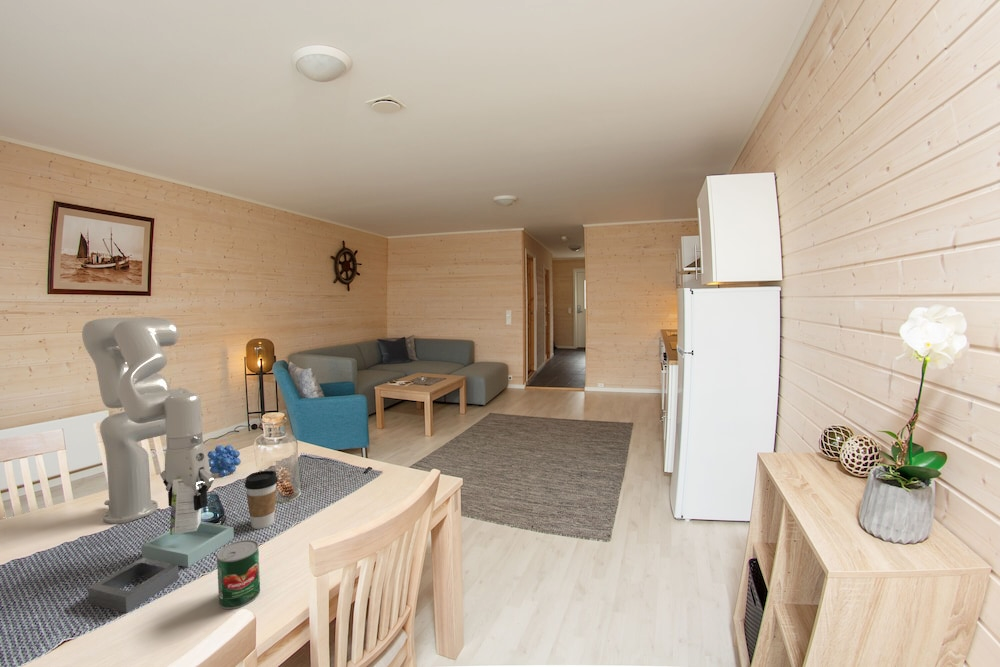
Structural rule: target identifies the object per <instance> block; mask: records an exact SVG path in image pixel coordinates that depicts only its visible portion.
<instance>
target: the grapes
mask: <svg viewBox="0 0 1000 667" xmlns="http://www.w3.org/2000/svg"><path fill="white" fill-rule="evenodd" d="M207 455H208V460H209V468H210V474H212V475H216V474H217V475H219V476H220V477H225V476H227V475H228V473H230V474H231V473H232V474H233V473H235V472H236V471H237V466H240V465H241V462H242V461H241V458H239V457H240V452H239V450H238V449H236V450H234V447H233V445H232V444H231V445H230V444H229V445H225V446H223V445H217V446H216V447H215V448H214V450H211V451H209V452H207Z"/></svg>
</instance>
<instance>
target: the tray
mask: <svg viewBox="0 0 1000 667" xmlns="http://www.w3.org/2000/svg"><path fill="white" fill-rule="evenodd" d="M234 529H235V528H234V526H230V525H223V524H220V523H214V522H208V521H207V522H206V521H202V520H201V523H200V525H199V527H198V529H197V531H194V532H188V533H181V534H174V535H170V529H169V530H167V531H166V532H164V533H162V534H160V535H158V536H157V537H155V538H153V539H151V540H149V541H147V542H145V543H143V544H141V556H142V557H141V558H147V559H151V560H156V561H160V562H165V563H170V564H174V565H178V567H179V566H180V567H185V568H190V567H192V566H193V565H195V564H196V563H198V562H199V561H201V560H202V559H204V558H206V557H207V556H209V555H211V553H214V552H215V551H217V550H218V549H220V548H222V547H224V545H226V544H228V543H229V542H232V540H233V539H234V538H235V534H234V533H235V531H234Z"/></svg>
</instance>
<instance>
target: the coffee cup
mask: <svg viewBox="0 0 1000 667" xmlns="http://www.w3.org/2000/svg"><path fill="white" fill-rule="evenodd" d="M277 484H278V476H277V472H276V471H275V470H261V471H257V472H253V473H250V474H249V475H247V476H246V478H245V482H244V488H245V489H246V499H247V506H248V513H249V514H248V515H249V519H250V526H251V528H252V529H255V530H259V529H265V528H268V527H270V526H272V525H273V524H274V522H275V514H276V513H275V512H276V502H277V501H276V500H277Z"/></svg>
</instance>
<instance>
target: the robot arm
mask: <svg viewBox="0 0 1000 667" xmlns="http://www.w3.org/2000/svg"><path fill="white" fill-rule="evenodd" d="M81 332H82V333H81V334H82V335H81V337H82V342H83V346H84V347H85V350H86V351H87V353H88V355H89V356H90V358H91V359H92V361H93V363H94V365H95V368H96V374H97V375H96V376H97V381H98V386H99V391H100V397H101V401H102V403H103V404H104V406H105V407H106V408H109V409H121V408H123V410H124V411H121V412H117V413H114V414H111V415H108V416H107V417H105V418H103V420H102V421H101V422H100V425H99V432H100V436H101V440H102V443H103V446H104V451H105V458H106V459H105V460H106V471H107V486H108V488H107V489H108V500H107V499H106V500H105V501H104V502H103V503H104V504H103V505H105V506H108V510H107V511H106V512H105V513H103V516H102V520H103V522H105V523H107V524H121V523H127V522H132V521H136V520H138V519H141V518H144V517H145V516H148V515H150V514H152V513H153V512H154V511H156V510H157V509H158V506H159V505H158V501H156V500H154V499H152V495H151V477H150V460H149V453H148V450H147V449H145V448H144V447H142V446H141V445H139V444H138V442H141V441H145V440H148V439H149V440H150V439H153V438H157V437H161V436H165V438H166V440H165V443H166V449H165V455H164V456H165V457H164V470H163V471H162V472H160V473H159V474H160V475H159V476H160V478H161V479H162V481H163V484H164V486H165V491H167V497H168V498H167V499H168V500H167V502H168V507H171V505H172V488H173V480H174V478H181V479H182V481H183V483H184V485H185V486H191V487H192V489H193V490H194V492H195V494H196V495H194V510H196V511H197V510H199V509H201V508H202V509H203V508H205V507H206V506H208V492H209V490H210V488H211V487H212V485H213V483H214V481H215V479H214V477H212V476H211V472H210V468H211V467H209V460H208V459H209V457H208V451H207V448H206V445H205V444H204V443H203V442H204V440H203V424H202V423H203V422H202V417H203V416H202V400H201V396H200V394H198V393H196V392H191V390H189V389H187V388H182V387H181V388H172V389H171V388H170V385H169V382H168V381H167V379H166V377H165V376H163V374H161V373H159V372H160V371H162V370H163V369H164V368H165V367H166V365H167V364H168V357H167V354H166V353H165V351H164V350H163V347H171V346H172V347H173V346H175V345H176V343H177V342H178V341H179V336H180V334H179V333H180V332H179V330H178V327H177V326H176V324H175V323H174V322H173V321H172V320H171V319H168V318H162V317H161V318H160V317H154V316H153V317H152V316H151V317H148V316H147V317H141V316H140V317H106V318H98V319H92V320H90V321H87V322H86V323H85V324H84V325H83V327H82V331H81ZM198 477H200V481H199V482H197V483H196V481H197V480H198ZM199 484H200V485H201V488H200V489H199V488H198V486H197V485H199Z"/></svg>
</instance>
